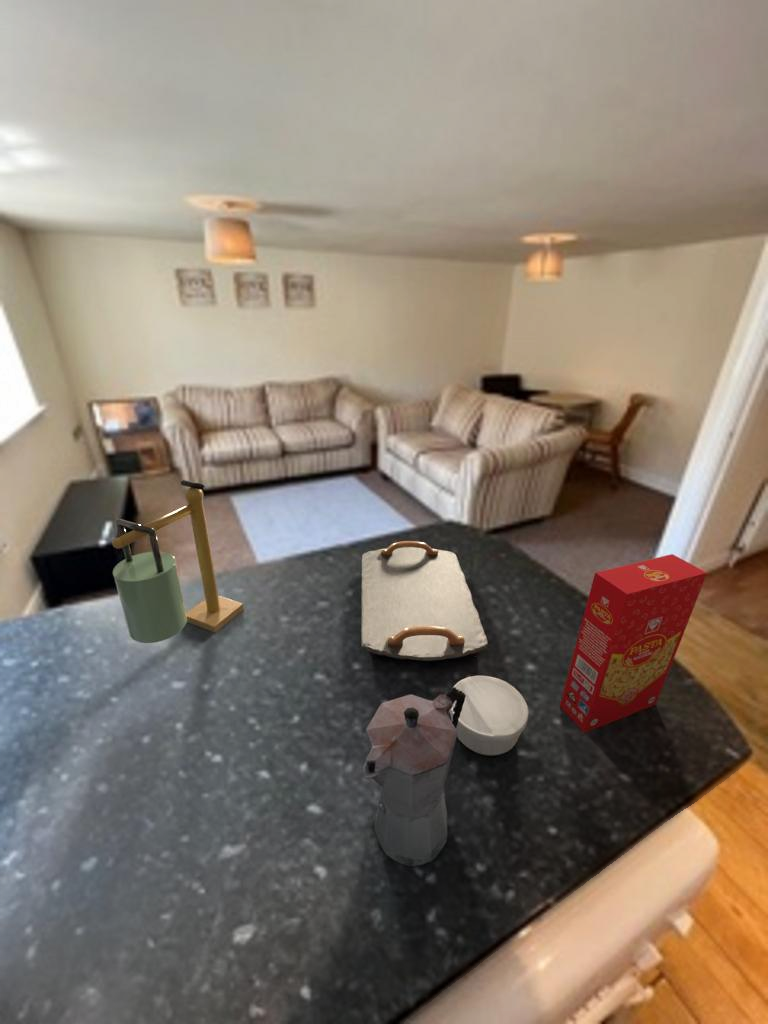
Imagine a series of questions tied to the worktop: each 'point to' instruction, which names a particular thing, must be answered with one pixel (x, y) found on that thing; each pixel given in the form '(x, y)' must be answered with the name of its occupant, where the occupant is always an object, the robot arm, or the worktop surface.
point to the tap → (214, 607)
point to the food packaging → (629, 638)
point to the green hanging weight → (149, 590)
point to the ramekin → (490, 715)
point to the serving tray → (417, 605)
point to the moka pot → (412, 773)
